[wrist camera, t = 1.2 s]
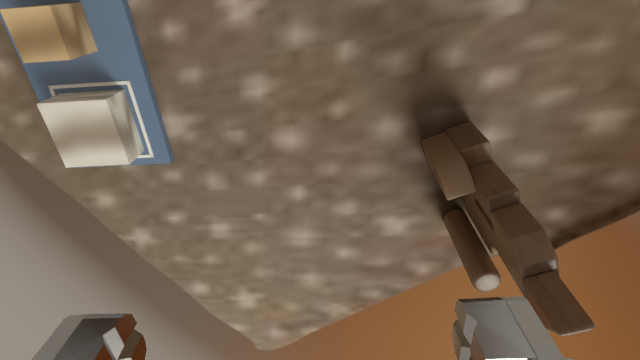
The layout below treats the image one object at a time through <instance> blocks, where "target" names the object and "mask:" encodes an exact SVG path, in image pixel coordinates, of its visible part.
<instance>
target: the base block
mask: <svg viewBox="0 0 640 360" xmlns="http://www.w3.org/2000/svg"><path fill="white" fill-rule="evenodd" d="M37 106H38V108H39V110H40V112H41V115H42V117H43V119H44V121H45V123H46V125H47V128H48V130H49V132H50V134H51V136H52V138H53V140H54V143H55V145H56V147H57V149H58V151H59V153H60V156H61V158H62V160H63V162H64V164H65V166H66V168H68V167H88V166H109V165H129V164H131V163H132V162H133V161H134V160H135V159H136V158H137V157H138V156H139V155H140V154H141V153H142V152H143V151H144V147H143V144H142V142H141V139H140V136H139V133H138V130H137V127H136V124H135V121H134V118H133V115H132V112H131V109H130V106H129V103H128V100H127V97H126V94H125V91H124V90H108V91H92V92H75V93H60V94H58V95H55V96H53V97H51V98H48V99H46V100H44V101H42V102H39V103H37Z"/></svg>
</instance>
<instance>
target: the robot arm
mask: <svg viewBox="0 0 640 360" xmlns="http://www.w3.org/2000/svg"><path fill="white" fill-rule="evenodd" d="M455 312H456V315H457V317H458V319H457V320H456V321H455V322H454V323H453V331H452V335H453V345H454V349H455V354H456V357H457V360H573V359H571V358H564V357H563V355H562V354H561V352H560V351H559V349H558V347H557V346H556V344H555V343H554V341H553V339H552V338H551V336H550V335H549V333H548V331H547V330H546V328H545V327H544V325H543V323H542V322H541V320H540V319H539V317H538V315H537V314H536V312H535V311H534V309H533V307H532V306H531V304H530V303H529V301H528V300H527V299H526V298H525V297H523V296H522V297H521V296H520V297H502V298H499V297H494V298H475V299H458V300H457V302H456V307H455ZM136 324H137V322H136V321H135V319H134V317H133V315H132V314H84V315H70V316H68V317H67V318H65V319H64V320H63V321H62V322H61V323H60V325H59V326H58V327H57V328H56V330H55V331H54V332H53V334H52V335H51V336H50V337H49V339H48V340H47V341H46V342H45V344H44V345H43V346H42V347H41V349H40V350H39V351H38V352H37V354H36V355H35V356H34V358H33V359H32V360H145V356H146V351H147V349H146V341H145V339H144V337H143V335H142V334H140V333H139V332H138V331H136V330H135V329H134V328H135V326H136Z"/></svg>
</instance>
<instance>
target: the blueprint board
mask: <svg viewBox="0 0 640 360" xmlns="http://www.w3.org/2000/svg"><path fill="white" fill-rule="evenodd" d="M75 2H81V4H82V7H83V9H84V12H85V15H86V18H87V21H88V24H89V26H90V29H91V32H92V35H93V38H94V41H95V44H96V46H97V49H98V51H96V52H93V53H90V54H87V55H84V56H81V57H78V58H75V59H72V60H63V61H48V62H33V63H23V60H22V58H21V56H20V54H19V52H18V49H17V47H16V45H15V43H14V41H13V38H12V36H11V34H10V32H9V30H8V27H7V25H6V23H5V21H4V19H3V17H2V14H1V12H0V17H1V19H2V21H3V23H4V26H5V28H6V30H7V32H8V34H9V37H10V39H11V41H12V43H13V45H14V47H15V50H16V52H17V54H18V56H19V58H20V61H21V63H22V65H23V67H24V69H25V71H26V74H27V76H28V78H29V80H30V82H31V85H32V87H33V89H34V91H35V93H36V95H37V98H38V100H39V102H42V101H44V100H46V99H48V98H51V97H53V96H55V95H58V94H60V93H75V92H92V91H108V90H124V91H125V94H126V97H127V100H128V103H129V106H130V109H131V112H132V115H133V118H134V121H135V124H136V127H137V130H138V133H139V136H140V139H141V142H142V144H143V147H144V151H143V152H142V153H141V154H140V155H139V156H138V157H137V158H136V159H135V160H134V161H133V162H132V163H131V164H129V165H142V164H162V163H172V161H173V160H174V158H173V155H172V151H171V148H170V145H169V141H168V138H167V135H166V131H165V128H164V124H163V121H162V118H161V114H160V111H159V107H158V104H157V101H156V97H155V94H154V91H153V87H152V84H151V80H150V77H149V74H148V70H147V67H146V63H145V60H144V57H143V53H142V50H141V47H140V43H139V40H138V36H137V33H136V30H135V26H134V23H133V19H132V16H131V13H130V9H129V6H128V3H127V0H0V9H8V8H17V7H27V6H36V5H49V4H62V3H75ZM109 166H122V165H109ZM88 167H102V166H88ZM69 168H81V167H69Z"/></svg>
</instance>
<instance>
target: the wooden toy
mask: <svg viewBox="0 0 640 360" xmlns="http://www.w3.org/2000/svg"><path fill="white" fill-rule="evenodd" d="M421 143H422V147H423V150H424V153H425V156H426V159H427V162H428V164H429V166H430V168H431V170H432V172H433V174H434V176H435V178H436V180H437V182H438V183H439V185H440V187H441V189H442V191H443V193H444V195H445V197H446V199H447V200H451V199H454V198H457V197H461V196H463V198H464V201H465V205H466V209H467V212H468V214H469V216H470V218H471V219H472V221H473V223H474V225H475V226H476V228H477V230H478V232H479V233H480V235H481V237H482V239H483V240H484V242H485V244H486V245H487V247H488V249H489V251H490V252H491V254H492V255H494V254H499V256H500V257H501V259H502V261H503V262H504V264H505V266H506V267H507V269H508V271H509V272H510V274H511V276H512V277H513V279H514V281H515V282H516V284H517V286H518V287H519V289H520V291H521V292H522V294H523V296H524V297H525V298H526V299H527V300H528V301H529V303H530V304H531V306H532V307H533V309H534V311H535V312H536V314H537V315H538V317H539V319H540V320H541V322H542V323H543V325H544V327H545V328H546V329H548V330H550V331H552V332H554V333H556V334H558V335H560V336H568V335H573V334H577V333H581V332H586V331H591V330H593V328H594V327H595V326H594V323H593V321H592V320H591V319H590V317H589V316H588V315H587V313H586V312H585V311H584V309H583V308H582V307H581V306H580V304H579V303H578V301H577V300H576V299H575V297H574V296H573V295H572V293H571V292H570V291H569V289H568V288H567V287H566V285H565V284H564V283H563V281H562V280H561V279H560V277H559V271H558V259H557V255H556V253H555V251H554V249H553V246H552V244H551V242H550V240H549V238H548V236H547V234H546V232H545V230H544V229H543V228H542V226H541V225H540V224H539V223H538V222H537V220H536V219H535V218H534V217H533V216H532V215H531V213H530V212H529V211H528V210H527V209H526V207H525V206H524V205H523V204H522V203H521V201H520V195H519V190H518V189H517V188H516V186H515V185H514V184H513V183H512V182H511V181H510V179H509V178H508V177H507V176H506V175H505V174H504V173H503V171H502V170H501V169H500V168H499V167H498V166H497V164H496V163H495V162H494V161H493V156H492V152H491V147H490V142H489V141H488V139H487V138H486V137H485V136H484V135H483V134H482V133H481V132H480V131H479V130H478V129H477V128H476V127H475V126H474V125H473V124H472V123H471V122H470V121H468V122H465V123H462V124H460V125H457V126H454V127H451V128H448V129H446V131H445V132H443V133H440V134H437V135H434V136H431V137H429V138H426V139H423V140H421ZM444 223H445V226H446V228H447V230H448V232H449V234H450V237H451V239H452V241H453V243H454V245H455V248H456V250H457V252H458V254H459V256H460V259H461V261H462V263H463V265H464V267H465V270H466V272H467V274H468V276H469V278H470V280H471V283H472V285H473V287H474V288H476V289H477V290H479V291H482V292H487V291H492V290H494V289H496V288H497V287H498V286H499V285H500V283H501V276H500V274H499V272H498V271H497V269H496V267H495V265H494V264H493V262H492V260H491V258H490V256H489V255H488V253H487V251H486V249H485V247H484V246H483V244H482V242H481V240H480V239H479V237H478V235H477V233H476V231H475V230H474V228H473V226H472V224H471V223H470V221H469V219H468V217H467V215H466V214H465V212H463V211H462V210H459V209H453V210H450V211H449V212H447V213H446V215H445V217H444Z"/></svg>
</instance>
